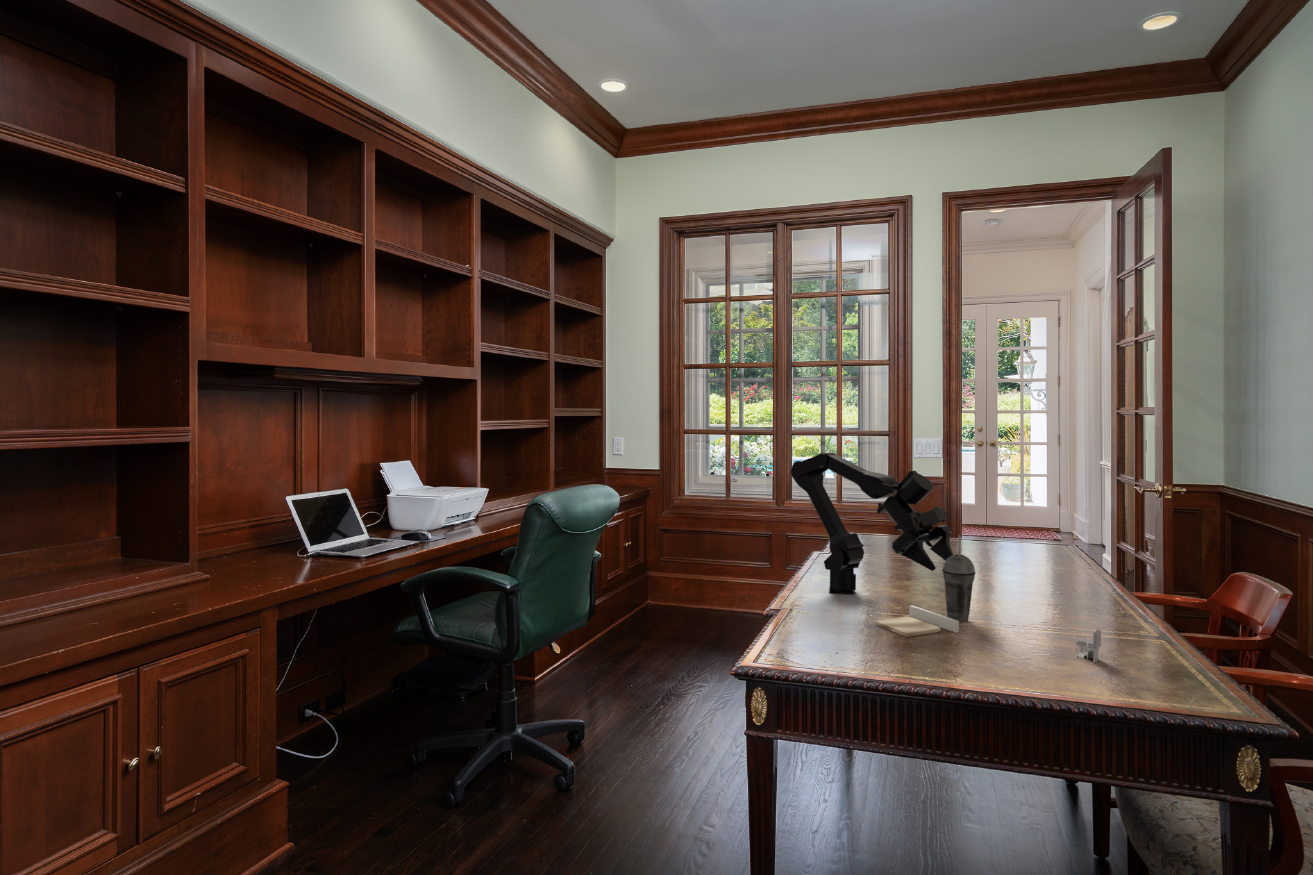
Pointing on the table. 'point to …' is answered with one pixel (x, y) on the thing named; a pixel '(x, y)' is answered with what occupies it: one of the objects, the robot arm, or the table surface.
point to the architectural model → (1089, 646)
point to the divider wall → (934, 618)
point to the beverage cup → (958, 585)
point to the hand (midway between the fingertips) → (944, 567)
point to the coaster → (907, 626)
